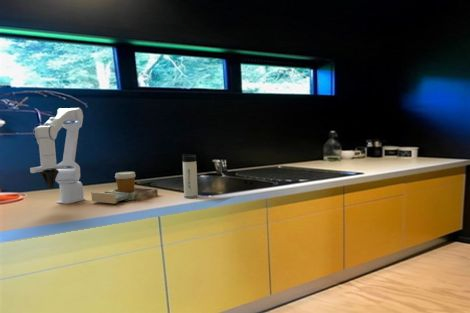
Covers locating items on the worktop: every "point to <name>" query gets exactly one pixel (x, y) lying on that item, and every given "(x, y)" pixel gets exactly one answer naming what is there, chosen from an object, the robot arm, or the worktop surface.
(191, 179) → the travel mug
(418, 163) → the worktop surface
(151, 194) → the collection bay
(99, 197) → the beige grey flat-sided piece
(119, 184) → the disposable coffee cup
